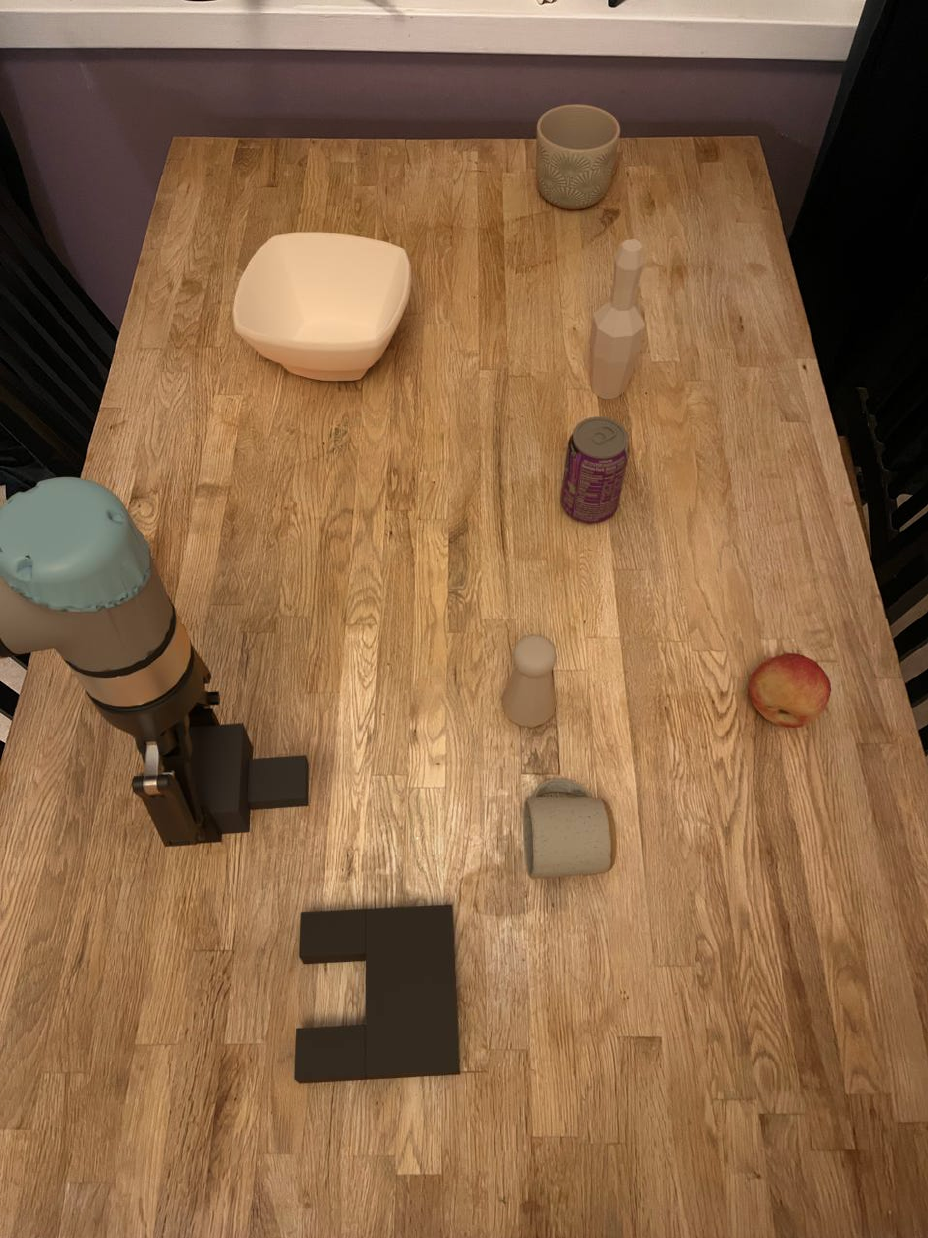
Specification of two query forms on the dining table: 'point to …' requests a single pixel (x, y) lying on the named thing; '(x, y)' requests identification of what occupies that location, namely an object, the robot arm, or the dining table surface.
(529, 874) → the ceramic mug
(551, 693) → the salt shaker
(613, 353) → the low poly bottle
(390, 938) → the dark u-shaped block
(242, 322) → the bowl
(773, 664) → the fruit
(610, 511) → the beverage can
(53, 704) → the dining table surface
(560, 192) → the planter
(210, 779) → the tab pad
